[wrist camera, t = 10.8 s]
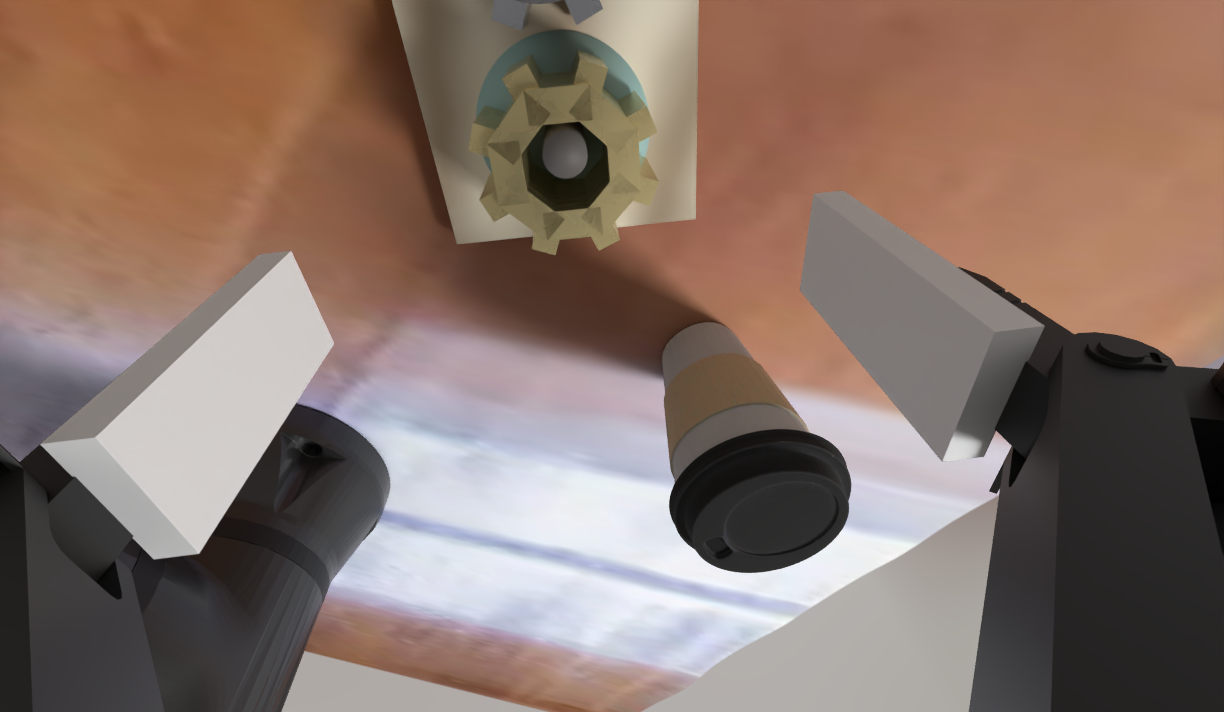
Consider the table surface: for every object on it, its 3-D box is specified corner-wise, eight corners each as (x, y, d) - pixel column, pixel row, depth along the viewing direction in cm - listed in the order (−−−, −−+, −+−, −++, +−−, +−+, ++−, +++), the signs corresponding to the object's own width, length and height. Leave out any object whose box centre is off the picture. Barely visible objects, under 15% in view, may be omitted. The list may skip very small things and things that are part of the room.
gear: (501, 227, 30) (492, 264, 26) (467, 59, 25) (448, 71, 21) (647, 212, 30) (661, 246, 26) (641, 42, 25) (657, 52, 21)
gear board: (461, 234, 31) (439, 285, 26) (332, -261, 20) (245, -358, 14) (690, 210, 32) (717, 255, 26) (694, -292, 20) (743, -398, 15)
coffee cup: (614, 377, 39) (639, 556, 26) (688, 275, 34) (759, 432, 22) (714, 420, 42) (778, 597, 30) (793, 332, 38) (906, 496, 25)
